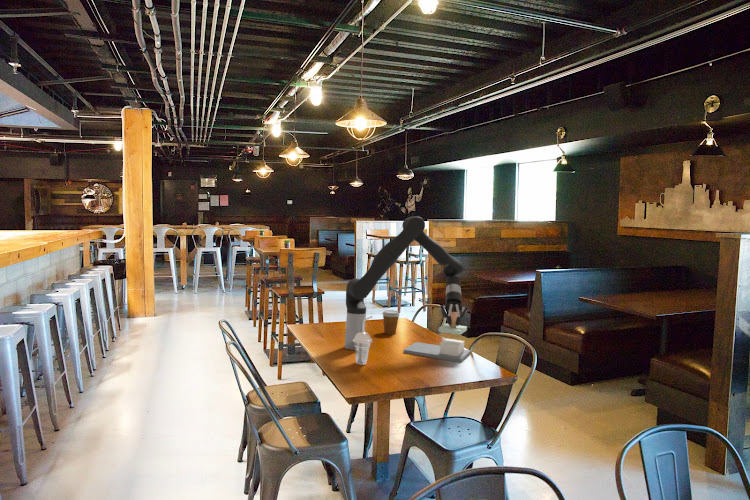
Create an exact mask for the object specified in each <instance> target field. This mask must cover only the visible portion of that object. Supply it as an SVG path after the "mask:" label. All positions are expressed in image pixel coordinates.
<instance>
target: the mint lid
mask: <svg viewBox="0 0 750 500" xmlns="http://www.w3.org/2000/svg"><path fill="white" fill-rule="evenodd" d="M450 317H451V326H450V325H449V324H448V322H447V323H444V324H442V325H441V326H439V327H438V332H440V333H446V334H453V335H459V336H461V335H462V334H464V333H465V332H467V331H468V326H466V325H461V324H459V325H458V326H457V312H451V316H450Z"/></svg>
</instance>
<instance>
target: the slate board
mask: <svg viewBox="0 0 750 500" xmlns="http://www.w3.org/2000/svg"><path fill="white" fill-rule="evenodd" d="M471 351H472V350H469V349H464V352H462V353H461V354H460V355H459V356H452V355H446V354H440V344H439V345H438V344H432V343H423V342H420V341H419V342H418V341H415V342H414V343H412V344H411V345H409V346H407V347H406V348H404V349H403V352H402V353H404V354H409V355H415V356H419V357H420V356H421V357H426V358H427V357H428V358H431V359H437V360H438V359H439V360H445V361H451V362H457V363H462V362H463V361H464V360H465V359H467V358H468V357H469V356H471V353H472V352H471Z"/></svg>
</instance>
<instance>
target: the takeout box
mask: <svg viewBox="0 0 750 500" xmlns="http://www.w3.org/2000/svg"><path fill="white" fill-rule="evenodd" d="M439 346H440V354H446V355H452V356H459V355H460V354H461V353H462V352H464V350H465V340H460V339H454V338H445V339H444V340H442V341H441V342H440V343H439Z"/></svg>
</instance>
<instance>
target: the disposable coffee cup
mask: <svg viewBox="0 0 750 500" xmlns="http://www.w3.org/2000/svg"><path fill="white" fill-rule="evenodd" d="M382 318H383V333H384V334H385V335H396V333H397V328H398V322H399V318H400V311H397V310H392V309H386V310H383V312H382Z"/></svg>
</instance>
